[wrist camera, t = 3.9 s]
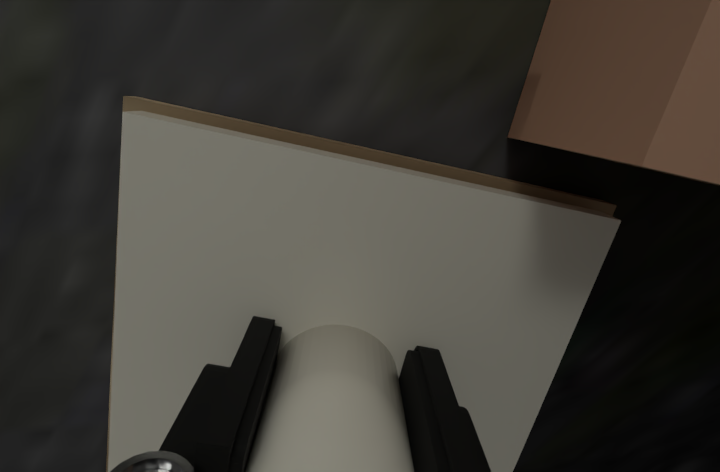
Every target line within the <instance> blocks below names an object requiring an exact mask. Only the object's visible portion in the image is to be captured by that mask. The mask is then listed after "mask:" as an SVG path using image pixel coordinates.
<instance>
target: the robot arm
mask: <svg viewBox="0 0 720 472" xmlns="http://www.w3.org/2000/svg"><path fill="white" fill-rule="evenodd" d="M281 333H282V327H280V326H275V320H274V319H268V318H263V317H257V316H253V317H252V320H251V322H250V324H249V326H248V328H247V331H246V333H245V335H244V337H243V340H242V342H241V344H240V346H239V349H238V351H237V353H236V355H235V357H234V360H233V362H232V364H231V366H230V367H226V366H220V365H214V364H206V365H205V367H204V368H203V370H202V372H201V373H200V375H199V377H198V379H197V381H196V383H195V384H194V386H193V388H192V390H191V392H190V394H189V395H188V397H187V399H186V401H185V403H184V405H183V406H182V408H181V410H180V412H179V414H178V416H177V417H176V419H175V421H174V423H173V425H172V427H171V428H170V430H169V432H168V434H167V436H166V438H165V439H164V441H163V443H162V445H161V447H160V449H159V450H158V451H150V452H145V453H142V454H138V455H135V456H132V457H131V458H129V459H127V460H125V461H123V462H121V463H120V464H118V465H117V466H116V467H115V468H114V469H113V470H111V471H110V472H245V469H246V466H247V462H248V459H249V455H250V452H251V448H252V445H253V441H254V437H255V434H256V430H257V427H258V423H259V420H260V416H261V413H262V409H263V406H264V402H265V399H266V395H267V392H268V388H269V385H270V381H271V377H272V374H273V370H274V367H275V363H276V360H277V355H278V349H279V344H280V339H281ZM399 384H400V390H401V396H402V402H403V408H404V413H405V419H406V425H407V431H408V437H409V443H410V449H411V454H412V460H413V466H414V472H491V469H490V467H489V464H488V462H487V459H486V456H485V454H484V451H483V448H482V446H481V443H480V440H479V438H478V435H477V432H476V430H475V427H474V424H473V422H472V419H471V416H470V414H469V412H468V410H467V409H466V408H465V407H462V406H459V404H458V402H457V399H456V396H455V393H454V390H453V387H452V385H451V382H450V379H449V376H448V373H447V370H446V367H445V365H444V362H443V359H442V356H441V353H440V351H439V350H438V349H434V348H429V347H423V346H418V345H417V346H416V347H415V349H414V351H413V350H408V351H407V353H406V356H405V359H404V363H403V366H402V369H401V373H400V376H399Z"/></svg>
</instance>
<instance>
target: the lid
mask: <svg viewBox="0 0 720 472" xmlns="http://www.w3.org/2000/svg"><path fill="white" fill-rule="evenodd" d="M620 223H621V220H619V219H617V218H614V217H612V216H610V215H608V214H606V213H603V212H601V211H597V210H592V209H587V208H583V207H578V206H574V205H569V204H565V203H560V202H556V201H551V200H546V199H542V198H537V197H533V196H528V195H524V194H519V193H515V192H510V191H505V190H501V189H496V188H492V187H487V186H483V185H478V184H474V183H469V182H464V181H460V180H455V179H451V178H446V177H442V176H437V175H433V174H428V173H423V172H419V171H414V170H410V169H405V168H401V167H396V166H392V165H387V164H382V163H378V162H373V161H369V160H364V159H360V158H355V157H351V156H346V155H341V154H337V153H332V152H328V151H323V150H319V149H314V148H310V147H305V146H300V145H296V144H291V143H287V142H282V141H278V140H273V139H269V138H264V137H259V136H255V135H250V134H246V133H241V132H237V131H232V130H228V129H223V128H218V127H214V126H209V125H205V124H200V123H196V122H191V121H186V120H182V119H177V118H173V117H168V116H164V115H159V114H155V113H150V112H145V111H126V112H123V116H122V140H121V164H120V189H119V213H118V237H117V262H116V286H115V310H114V335H113V359H112V383H111V408H110V432H109V456H108V472H110V471H111V470H113V469H114V468H115V467H116V466H117V465H118V464H120V463H121V462H123V461H125V460H127V459H129V458H131V457H132V456H135V455H138V454H142V453H145V452H150V451H158V450H159V449H160V447H161V445H162V443H163V441H164V439H165V438H166V436H167V434H168V432H169V430H170V428H171V427H172V425H173V423H174V421H175V419H176V417H177V416H178V414H179V412H180V410H181V408H182V406H183V405H184V403H185V401H186V399H187V397H188V395H189V394H190V392H191V390H192V388H193V386H194V384H195V383H196V381H197V379H198V377H199V375H200V373H201V372H202V370H203V368H204V367H205V365H206V364H214V365H220V366H226V367H230V366H231V364H232V362H233V360H234V357H235V355H236V353H237V351H238V349H239V346H240V344H241V342H242V340H243V337H244V335H245V333H246V331H247V328H248V326H249V324H250V322H251V320H252V317H253V316H257V317H263V318H268V319H274V320H275V326H280V327H282V333H281V339H280V344H279V349H278V355H277V360H276V363H275V367H274V370H273V374H272V377H271V381H270V385H269V388H268V392H267V395H266V399H265V402H264V406H263V409H262V413H261V416H260V420H259V423H258V427H257V430H256V434H255V437H254V441H253V445H252V448H251V452H250V455H249V459H248V462H247V466H246V469H245V472H414V466H413V460H412V454H411V449H410V443H409V437H408V431H407V425H406V419H405V413H404V408H403V402H402V396H401V390H400V384H399V376H400V373H401V369H402V366H403V363H404V359H405V356H406V353H407V351H408V350H413V351H414V349H415V347H416V346H417V345H418V346H423V347H429V348H434V349H438V350H439V351H440V353H441V356H442V359H443V362H444V365H445V367H446V370H447V373H448V376H449V379H450V382H451V385H452V387H453V390H454V393H455V396H456V399H457V402H458V404H459V406H462V407H465V408H466V409H467V410H468V412H469V414H470V416H471V419H472V422H473V424H474V427H475V430H476V432H477V435H478V438H479V440H480V443H481V446H482V448H483V451H484V454H485V456H486V459H487V462H488V464H489V467H490V469H491V472H513V470H514V468H515V465H516V463H517V461H518V458H519V456H520V454H521V452H522V449H523V447H524V445H525V442H526V440H527V438H528V435H529V433H530V431H531V428H532V426H533V424H534V421H535V419H536V417H537V415H538V412H539V410H540V408H541V405H542V403H543V401H544V398H545V396H546V394H547V391H548V389H549V387H550V385H551V382H552V380H553V378H554V375H555V373H556V371H557V368H558V366H559V364H560V361H561V359H562V357H563V354H564V352H565V350H566V348H567V345H568V343H569V341H570V338H571V336H572V334H573V331H574V329H575V327H576V324H577V322H578V320H579V317H580V315H581V313H582V311H583V308H584V306H585V304H586V301H587V299H588V297H589V294H590V292H591V290H592V287H593V285H594V283H595V280H596V278H597V276H598V274H599V271H600V269H601V267H602V264H603V262H604V260H605V257H606V255H607V253H608V250H609V248H610V246H611V243H612V241H613V239H614V237H615V234H616V232H617V230H618V227H619V225H620Z"/></svg>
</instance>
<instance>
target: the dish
mask: <svg viewBox="0 0 720 472" xmlns="http://www.w3.org/2000/svg"><path fill="white" fill-rule="evenodd" d="M508 137H509V138H513V139H517V140H522V141H526V142H530V143H535V144H539V145H543V146H548V147H552V148H556V149H561V150H565V151H569V152H574V153H578V154H582V155H586V156H591V157H595V158H599V159H604V160H608V161H612V162H617V163H621V164H625V165H630V166H634V167H638V168H643V169H647V170H651V171H656V172H660V173H664V174H669V175H673V176H677V177H682V178H686V179H690V180H695V181H699V182H703V183H707V184H712V185H716V186H720V0H551V2H550V5H549V8H548V11H547V15H546V18H545V21H544V24H543V27H542V30H541V33H540V37H539V40H538V43H537V46H536V49H535V52H534V55H533V58H532V62H531V65H530V68H529V71H528V74H527V77H526V80H525V84H524V87H523V90H522V93H521V96H520V99H519V102H518V105H517V109H516V112H515V115H514V118H513V121H512V124H511V127H510V131H509V134H508Z"/></svg>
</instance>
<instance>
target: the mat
mask: <svg viewBox="0 0 720 472" xmlns="http://www.w3.org/2000/svg"><path fill="white" fill-rule="evenodd" d="M126 111H145V112H150V113H155V114H159V115H164V116H168V117H173V118H177V119H182V120H186V121H191V122H196V123H200V124H205V125H209V126H214V127H218V128H223V129H228V130H232V131H237V132H241V133H246V134H250V135H255V136H259V137H264V138H269V139H273V140H278V141H282V142H287V143H291V144H296V145H300V146H305V147H310V148H314V149H319V150H323V151H328V152H332V153H337V154H341V155H346V156H351V157H355V158H360V159H364V160H369V161H373V162H378V163H382V164H387V165H392V166H396V167H401V168H405V169H410V170H414V171H419V172H423V173H428V174H433V175H437V176H442V177H446V178H451V179H455V180H460V181H464V182H469V183H474V184H478V185H483V186H487V187H492V188H496V189H501V190H505V191H510V192H515V193H519V194H524V195H528V196H533V197H537V198H542V199H546V200H551V201H556V202H560V203H565V204H569V205H574V206H578V207H583V208H587V209H592V210H597V211H601V212H603V213H606V214H608V215H610V216H613V213H614V211H615V209H616V206H617V205H614V204H612V203H609V202H606V201H604V200H600V199H596V198H591V197H587V196H582V195H578V194H573V193H569V192H564V191H560V190H555V189H551V188H546V187H542V186H537V185H533V184H528V183H524V182H519V181H515V180H510V179H506V178H501V177H497V176H492V175H488V174H483V173H479V172H474V171H470V170H465V169H461V168H456V167H451V166H447V165H442V164H438V163H433V162H429V161H424V160H420V159H415V158H411V157H406V156H402V155H397V154H393V153H388V152H384V151H379V150H375V149H370V148H366V147H361V146H357V145H352V144H348V143H343V142H339V141H334V140H330V139H325V138H321V137H316V136H312V135H307V134H303V133H298V132H294V131H289V130H285V129H280V128H276V127H271V126H267V125H262V124H258V123H253V122H249V121H244V120H240V119H235V118H231V117H226V116H222V115H217V114H213V113H208V112H204V111H199V110H195V109H190V108H186V107H181V106H177V105H172V104H168V103H163V102H159V101H154V100H150V99H145V98H141V97H134V96H123V112H126ZM121 140H122V138H121ZM120 164H121V160H120ZM119 189H120V182H119ZM118 213H119V203H118ZM117 237H118V225H117ZM116 262H117V247H116ZM115 286H116V269H115ZM114 310H115V290H114ZM113 335H114V312H113V334H112V356H111V377H110V399H109V421H108V443H107V464H106V472H108V456H109V432H110V408H111V383H112V359H113Z"/></svg>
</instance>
